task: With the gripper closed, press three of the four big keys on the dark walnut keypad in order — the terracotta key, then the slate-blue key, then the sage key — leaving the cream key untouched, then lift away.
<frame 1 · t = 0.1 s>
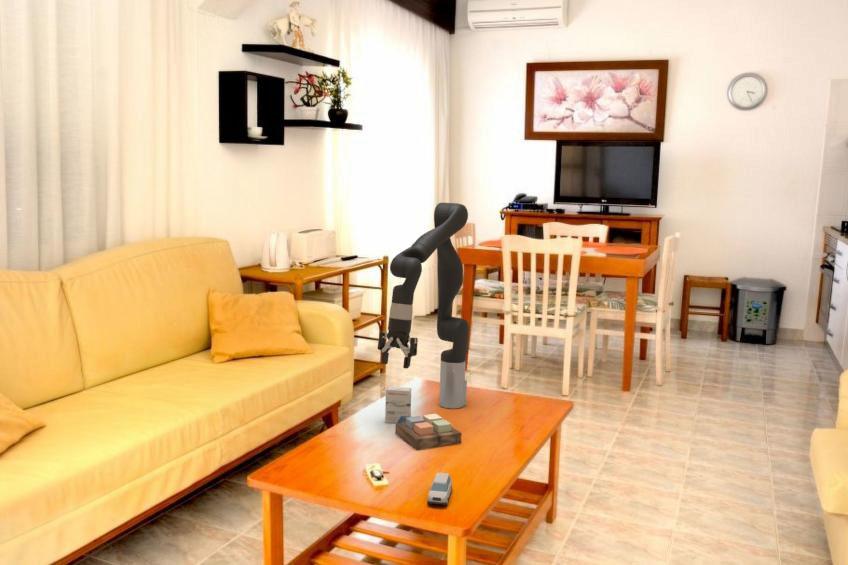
hand: (395, 366, 248), 22 cm above the table, tool pointing down, fingers open, 8 cm apart
ink box: (398, 421, 262), on the table
sage key: (441, 426, 244), point 5 cm above the table, slide at 0.0 cm
cream key: (432, 420, 249), point 5 cm above the table, slide at 0.0 cm
toy car: (439, 499, 202), on the table
terracotta key: (423, 428, 241), point 5 cm above the table, slide at 0.0 cm
slate key: (415, 422, 247), point 5 cm above the table, slide at 0.0 cm
keypad housing: (427, 438, 246), on the table
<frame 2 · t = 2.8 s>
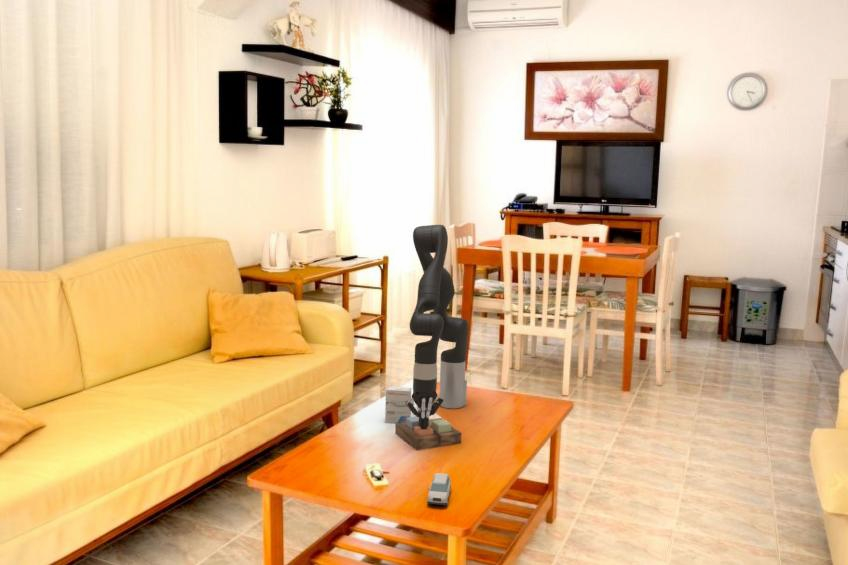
hand: (423, 428, 241), 5 cm above the table, tool pointing down, fingers closed
terracotta key: (423, 432, 241), point 4 cm above the table, slide at 1.1 cm, touching gripper
everything else where it was.
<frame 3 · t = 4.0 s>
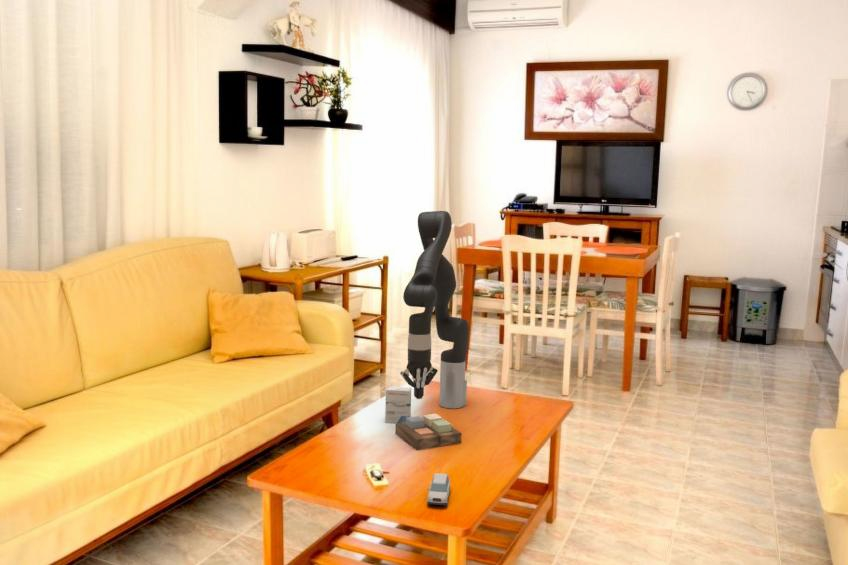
hand: (418, 398, 245), 13 cm above the table, tool pointing down, fingers closed
terracotta key: (423, 434, 241), point 3 cm above the table, slide at 1.9 cm
everything else where it was.
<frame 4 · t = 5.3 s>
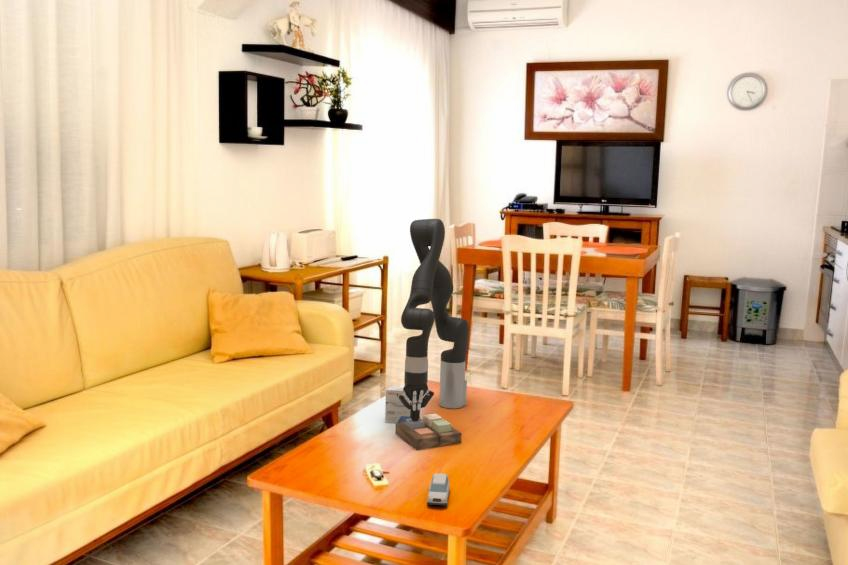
hand: (414, 420, 246), 5 cm above the table, tool pointing down, fingers closed
slate key: (415, 424, 247), point 4 cm above the table, slide at 0.5 cm, touching gripper
everything else where it was.
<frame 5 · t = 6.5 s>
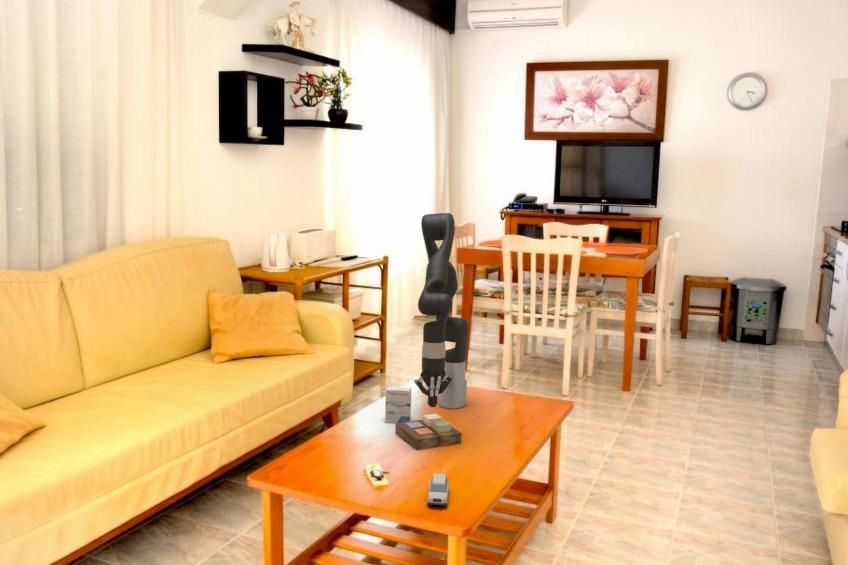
hand: (432, 406, 244), 11 cm above the table, tool pointing down, fingers closed
slate key: (414, 428, 247), point 3 cm above the table, slide at 2.0 cm
everything else where it was.
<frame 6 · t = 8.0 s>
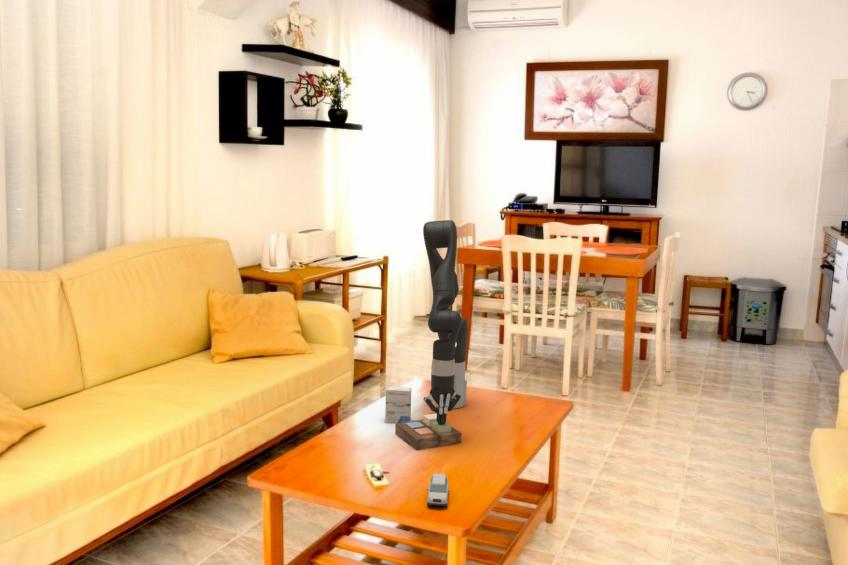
hand: (441, 424, 243), 5 cm above the table, tool pointing down, fingers closed
sage key: (441, 427, 244), point 4 cm above the table, slide at 0.5 cm, touching gripper
everything else where it was.
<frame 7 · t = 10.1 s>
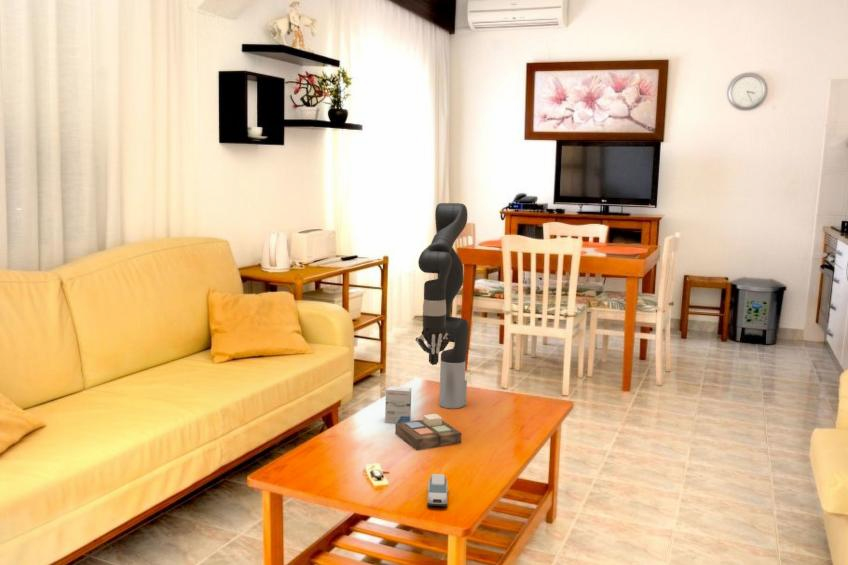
hand: (433, 364, 247), 24 cm above the table, tool pointing down, fingers closed
sage key: (441, 432, 244), point 3 cm above the table, slide at 2.0 cm
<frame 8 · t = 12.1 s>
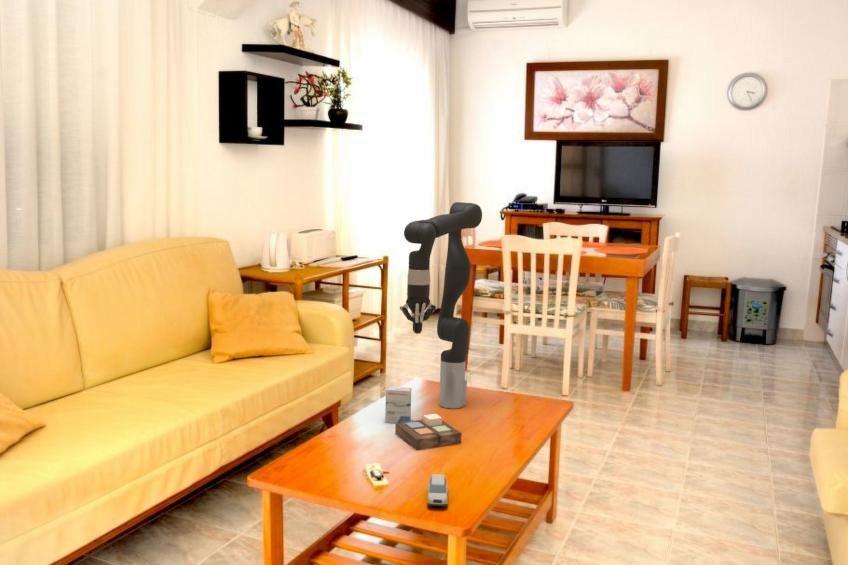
hand: (417, 333, 254), 32 cm above the table, tool pointing down, fingers closed
at the end: terracotta key slide at 1.9 cm; slate key slide at 2.0 cm; sage key slide at 2.0 cm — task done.
